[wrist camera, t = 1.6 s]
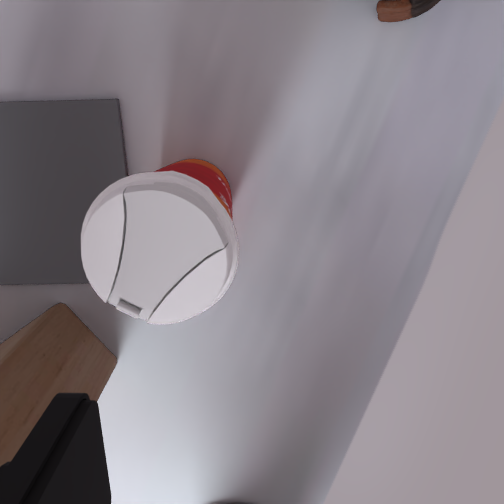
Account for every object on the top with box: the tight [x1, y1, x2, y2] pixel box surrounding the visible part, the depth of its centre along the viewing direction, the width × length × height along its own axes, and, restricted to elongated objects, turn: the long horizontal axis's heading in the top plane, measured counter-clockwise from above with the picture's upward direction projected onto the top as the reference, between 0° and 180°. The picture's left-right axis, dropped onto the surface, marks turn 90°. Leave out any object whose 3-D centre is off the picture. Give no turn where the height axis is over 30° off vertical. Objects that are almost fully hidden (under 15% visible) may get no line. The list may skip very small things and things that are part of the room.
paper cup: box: [81, 159, 239, 324], centre depth 26 cm, size 8×8×14 cm
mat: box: [0, 99, 128, 285], centre depth 33 cm, size 14×15×1 cm
